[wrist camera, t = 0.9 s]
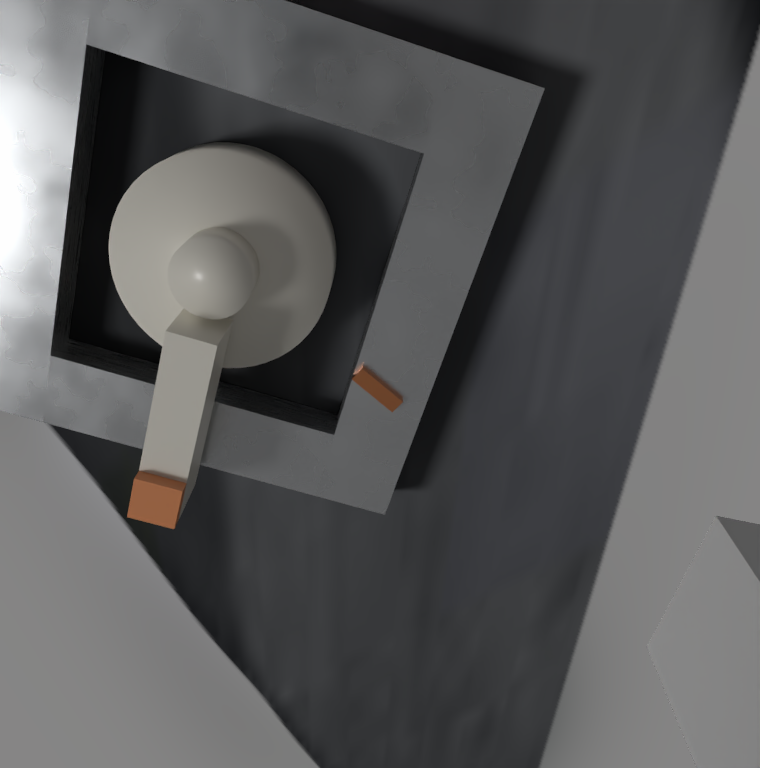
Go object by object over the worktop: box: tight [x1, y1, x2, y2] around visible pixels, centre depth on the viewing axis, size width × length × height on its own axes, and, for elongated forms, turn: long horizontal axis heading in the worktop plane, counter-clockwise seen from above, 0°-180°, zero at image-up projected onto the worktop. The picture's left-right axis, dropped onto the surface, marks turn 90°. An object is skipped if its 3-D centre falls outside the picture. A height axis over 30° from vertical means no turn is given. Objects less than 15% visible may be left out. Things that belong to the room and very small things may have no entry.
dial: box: [108, 142, 337, 529], centre depth 30 cm, size 15×9×6 cm, turn 163°
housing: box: [0, 0, 545, 515], centre depth 31 cm, size 20×20×2 cm
